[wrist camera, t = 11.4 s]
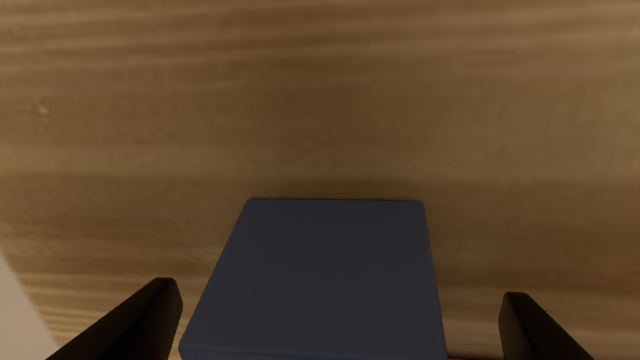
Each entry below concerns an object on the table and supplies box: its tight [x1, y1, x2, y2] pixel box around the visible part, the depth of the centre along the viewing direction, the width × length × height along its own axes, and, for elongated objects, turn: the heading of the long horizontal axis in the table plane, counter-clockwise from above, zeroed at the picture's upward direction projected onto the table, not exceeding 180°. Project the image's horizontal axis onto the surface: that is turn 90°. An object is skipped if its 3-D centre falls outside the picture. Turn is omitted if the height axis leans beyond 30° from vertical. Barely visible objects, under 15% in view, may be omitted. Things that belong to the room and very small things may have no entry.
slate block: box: [178, 199, 448, 360], centre depth 9 cm, size 4×4×4 cm
